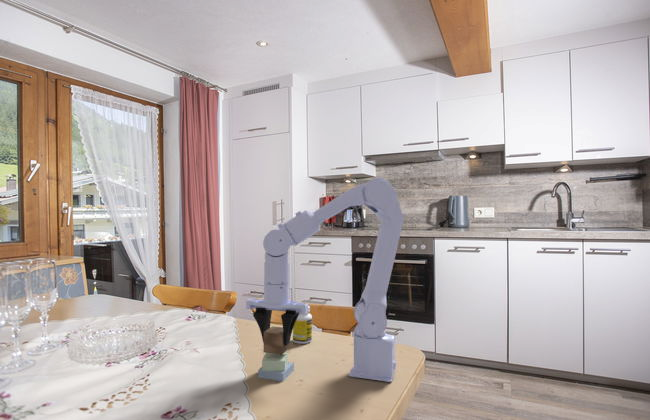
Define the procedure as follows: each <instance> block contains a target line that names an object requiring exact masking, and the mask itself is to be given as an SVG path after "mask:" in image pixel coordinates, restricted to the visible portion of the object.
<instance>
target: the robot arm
mask: <svg viewBox="0 0 650 420" xmlns="http://www.w3.org/2000/svg"><path fill="white" fill-rule="evenodd" d="M359 206H365V207H367V208H368V209H369V210H370V211H372V212H373V213H374V215H375V216H376V217H377V220H379V222H380V224H379V229H378V233H377V237H376V241H375V246H374V250H373V253H372V258H371V262H370V263H371V264H370V267H369V270H368V275H367V280H366V284H365V287H364V290H363V291H362V293H361V295H360V296H361V297H360V300H359V301H358V302H357V303H356V305H355V306H354V308H353V317H354V319H355V320H356V322H357V324H356V327H355V328H354V329H353V366H352V368H351V369H350V371H349V373H348V376H349V377H350V378H357V379H358V378H359V379H364V380H365V379H366V380H373V381H380V382H388V383H392V382H393V379H394V375H395V371H396V367H397V361H396V337H395V335H393V334H388V333H387V332H386V329H387V326H388V320H387V319H388V318H387V315H386V311H387V307H388V306H387V305H388V304H387V292H388V289H389V283H390V281H391V276H392V271H393V268H394V267H393V266H394V264H395V263H394V262H395V259H396V255H397V251H398V247H399V246H398V245H399V242H400V238H401V233H402V230H403V225H404V221H405V220H404V219H405V218H404V214H403V211H402V208H401V205H400V202H399V198H398V192H397V189H395V187H394V186H393V185H392V183H391V182H390V181H388V180H387V178H383V177H373V178H371V179H370V180H369V181H367V182H363V183H361V184H358V185H356V186H354V187H352V188H349V189H348V190H346V191H345V192H342V193H341V194H340V195H338V196H336V197H335V198H334V199H331V200H330V201H329V202H327V203H326V204H324V205H323V206H321V207H319V208H318V209H316V210H315V211H310V210H304V211H301V210H299V211H297V212H296V213H295V216H294V217H292V218H290V219H289V220H287V221H286V222H284V223H282V222H281V223H279V224H277V227H278V229H271V230H269V232H268V233H267V234H266V235H265V236H264V239H263V242H262V245H263V248H264V251H265V252H264V264H263V267H264V268H263V271H264V273H263V276H264V277H263V280H264V281H263V284H264V285H263V298H249V299H247V300H245V303H246V305H245V309H246V310H251V309H252V310H253V309H254V310H255V311H254V312H253V313H252V315H253V318H254V319H255V322H256V323H257V325H258V328H259V330H260V335H261V338H262V343H263V344H264V332H265V331H266V330H268V329H269V328H271V319H272V313H273V312H274V311H275V312H284V313H283V314H281V315H280V318H281V323H282V327H283V343H284V345H288V344H289V343H290V344H291V337H292V334H293V327H294V324H295V322H296V320H297V318H298V316H299V313H301V314H306V313H307V312H308V306H309V303H307V302H301V301H295V300H290V285H291V284H290V276H291V274H290V273H291V272H290V271H291V270H290V266H291V265H290V263H291V262H290V260H289V258H290V257H289V254H290V253H289V252H290V251H289V250H290V247H292V246H294V247H295V246H298V245H300V244H301V243H303V242H304V241H306V240H307V239H309V238H311V237H312V236H314V235H315V234H317V233H319V232H320V228H321V227H320V226H321V224H322V223H323V222H326V221H327V220H329V219H331V218H332V217H334V216H336V215H337V214H339V213H341V212H342V211H344V210H346V209H348V208H350V207H359Z"/></svg>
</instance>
